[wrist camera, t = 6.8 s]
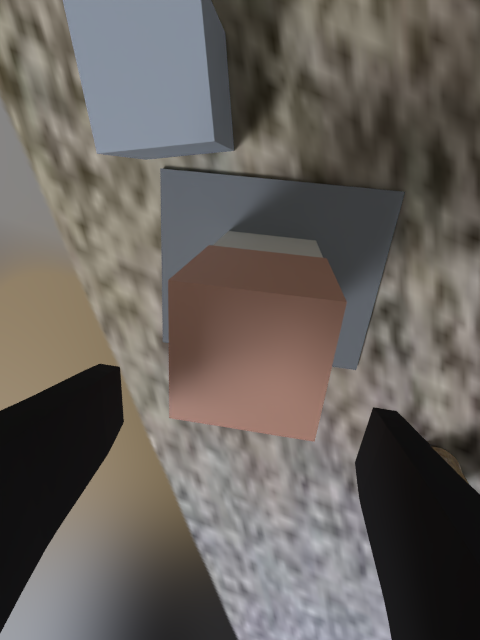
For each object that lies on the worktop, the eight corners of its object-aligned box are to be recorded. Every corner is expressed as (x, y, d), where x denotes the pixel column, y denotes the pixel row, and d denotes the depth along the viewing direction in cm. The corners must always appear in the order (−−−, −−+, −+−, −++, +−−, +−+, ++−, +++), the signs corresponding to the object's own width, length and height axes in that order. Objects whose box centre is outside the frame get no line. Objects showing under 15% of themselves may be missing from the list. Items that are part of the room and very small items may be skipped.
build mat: (402, 191, 16) (404, 191, 15) (355, 367, 20) (356, 369, 20) (162, 168, 17) (160, 168, 17) (164, 339, 21) (162, 342, 21)
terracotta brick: (326, 257, 12) (346, 302, 8) (306, 361, 14) (314, 441, 10) (208, 245, 13) (168, 280, 9) (204, 346, 15) (169, 417, 10)
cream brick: (315, 240, 17) (325, 262, 13) (301, 321, 19) (305, 364, 14) (228, 230, 17) (208, 249, 13) (223, 310, 19) (203, 349, 15)
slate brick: (225, 33, 14) (198, -30, 10) (234, 150, 16) (214, 141, 12) (127, 48, 15) (62, -4, 11) (146, 159, 17) (97, 153, 12)
